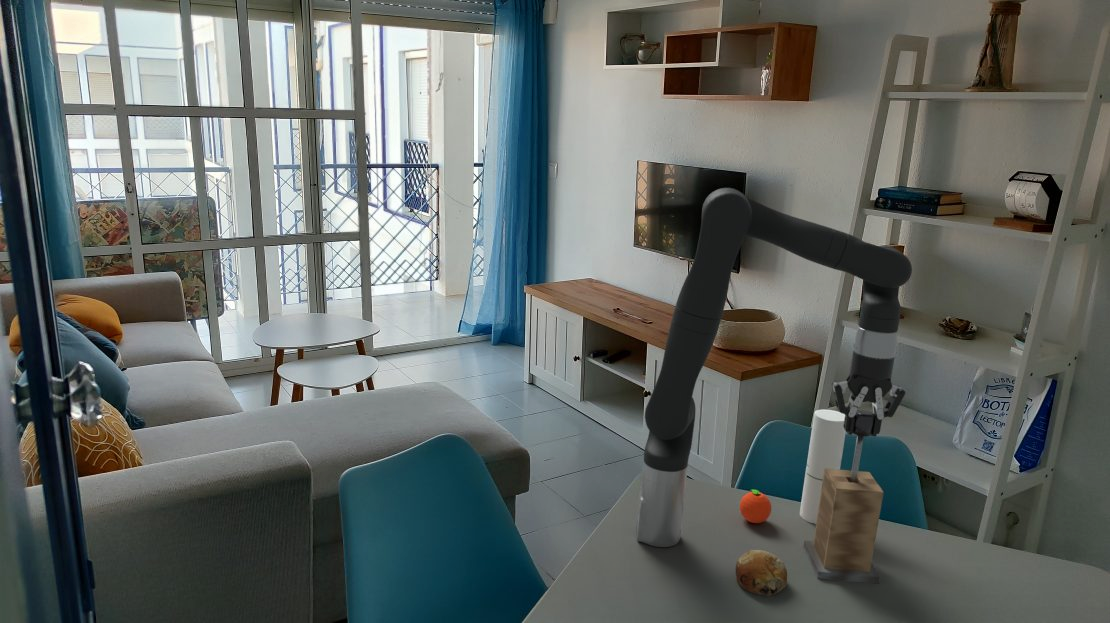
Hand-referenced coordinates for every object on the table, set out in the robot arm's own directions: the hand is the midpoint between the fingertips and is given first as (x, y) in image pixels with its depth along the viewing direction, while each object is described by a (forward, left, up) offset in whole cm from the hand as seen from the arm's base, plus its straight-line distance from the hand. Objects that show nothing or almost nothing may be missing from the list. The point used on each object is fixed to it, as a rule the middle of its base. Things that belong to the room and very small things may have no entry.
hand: (860, 433), depth 158 cm
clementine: (-15, +16, -29) cm, 37 cm away
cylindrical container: (0, +20, -29) cm, 35 cm away
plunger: (0, 0, -20) cm, 20 cm away
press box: (0, 0, -29) cm, 29 cm away
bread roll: (-18, -9, -29) cm, 36 cm away
